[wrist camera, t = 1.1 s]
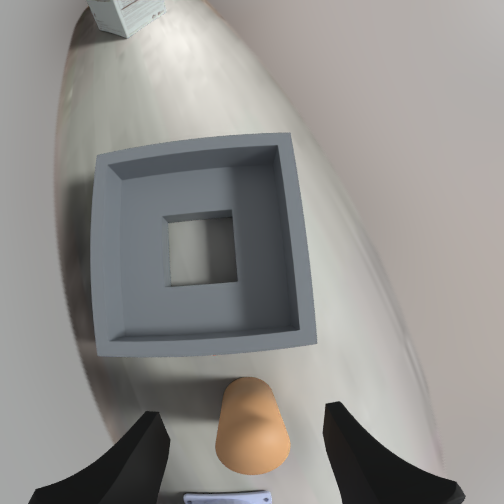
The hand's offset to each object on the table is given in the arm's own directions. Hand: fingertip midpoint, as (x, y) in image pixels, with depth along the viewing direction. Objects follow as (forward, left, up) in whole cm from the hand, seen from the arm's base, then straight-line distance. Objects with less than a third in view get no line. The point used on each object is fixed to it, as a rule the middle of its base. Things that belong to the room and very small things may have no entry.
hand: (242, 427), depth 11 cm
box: (+9, +2, -10) cm, 14 cm away
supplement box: (+42, +12, -11) cm, 45 cm away
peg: (-3, 0, -10) cm, 11 cm away
